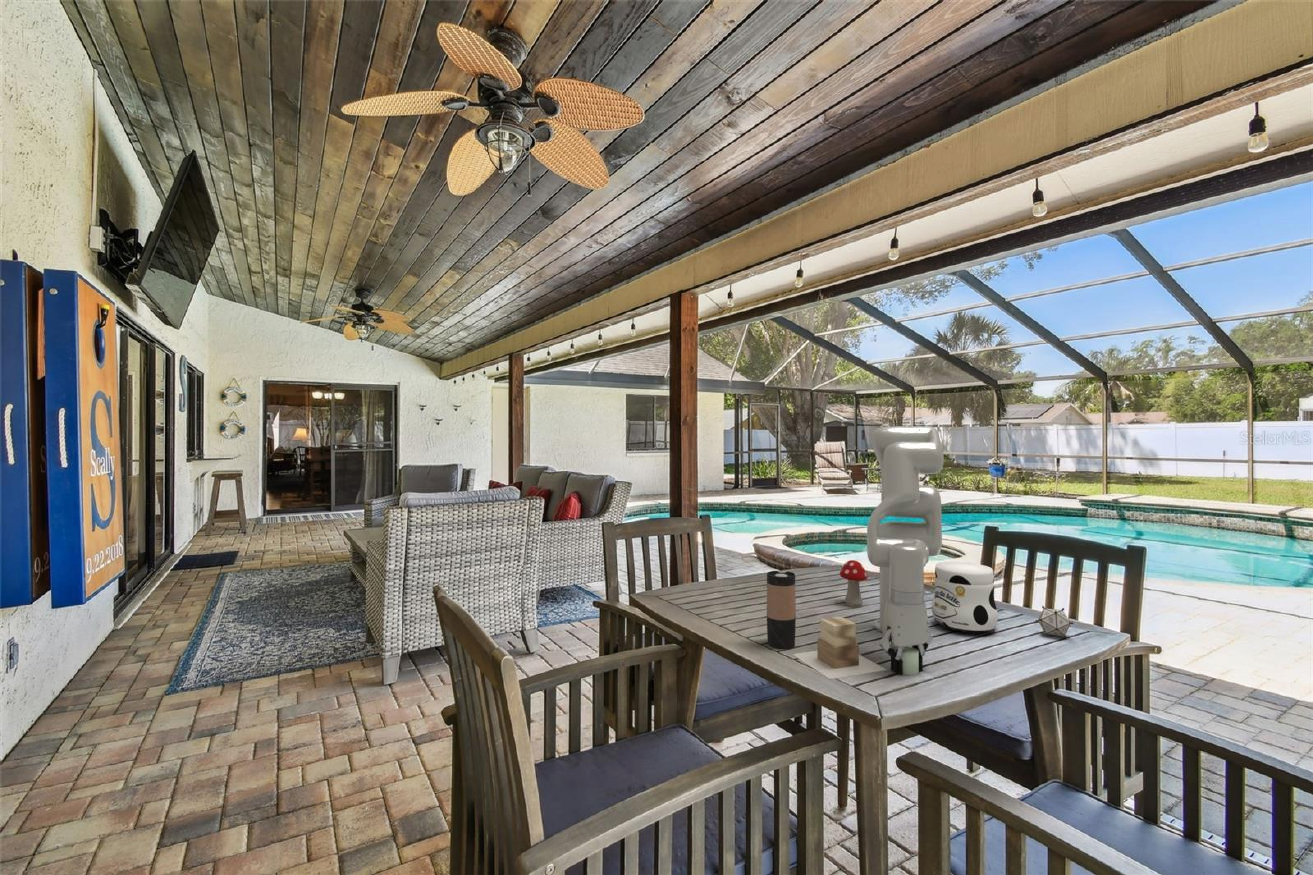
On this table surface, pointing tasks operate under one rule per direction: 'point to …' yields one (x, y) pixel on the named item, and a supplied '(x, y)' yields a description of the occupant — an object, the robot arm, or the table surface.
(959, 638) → the table surface
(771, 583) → the travel mug
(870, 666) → the stone tile
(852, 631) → the tower top block
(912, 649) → the sage cylinder
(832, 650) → the tower base block
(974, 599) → the milk container
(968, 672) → the table surface
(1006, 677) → the table surface
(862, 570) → the decorative mushroom
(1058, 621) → the beige icosahedron ornament
